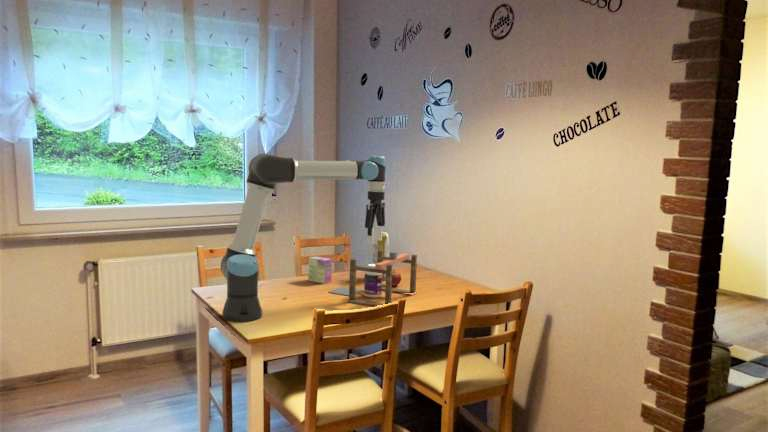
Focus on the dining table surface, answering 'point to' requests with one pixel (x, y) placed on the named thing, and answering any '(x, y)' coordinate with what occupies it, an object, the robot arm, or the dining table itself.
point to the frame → (388, 272)
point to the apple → (395, 278)
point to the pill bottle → (373, 283)
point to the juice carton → (381, 249)
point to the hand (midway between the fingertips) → (374, 241)
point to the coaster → (344, 291)
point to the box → (320, 269)
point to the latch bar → (392, 260)
